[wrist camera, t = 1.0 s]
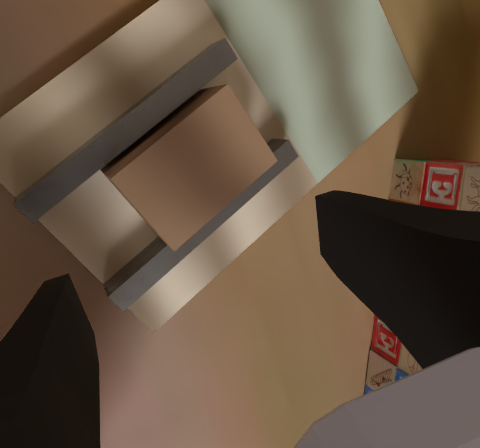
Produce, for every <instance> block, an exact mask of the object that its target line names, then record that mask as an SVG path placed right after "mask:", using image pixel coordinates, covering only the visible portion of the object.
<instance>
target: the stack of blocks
mask: <svg viewBox="0 0 480 448" xmlns="http://www.w3.org/2000/svg"><path fill="white" fill-rule="evenodd" d="M389 200H391V201H396V202H402V203H407V204H413V205H420V206H426V207H433V208H441V209H452V210H464V211H480V163H478V162H465V161H453V160H428V159H427V160H414V159H395V160H394V166H393V174H392V181H391V188H390V196H389ZM371 347H372V348H371V350H370V353H369V362H368V370H367V377H366V386H365V394H367V393H369V392H372V391H374V390H376V389H378V388H381V387H383V386H385V385H388V384H390V383H392V382H394V381H397V380H399V379H401V378H404V377H406V376H408V375H410V374H413V373H415V372H417V371H420V370H422V368H421V367H420V365H419V364H418V363H417V361H416V360H415V359H414V358H413V356H412V355H411V354H410V353H409V351H408V350H407V349H406V348H405V347H404V345H403V344H402V343H401V342H400V340H399V339H398V338H397V337H396V336H395V334H394V333H393V332H392V331H391V330H390V329H389V328H388V327H387V326H386V325H385V324H384V323H383V322H382V321H381V320H380V319H379V318H378V317H377V316H376V315H375V320H374V327H373V336H372V343H371ZM365 394H364V395H365Z"/></svg>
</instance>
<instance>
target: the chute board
mask: <svg viewBox="0 0 480 448" xmlns="http://www.w3.org/2000/svg"><path fill="white" fill-rule="evenodd" d="M223 38H226V40H227V42H228V43H229V45H230V46H231V48H232V50H233V51H234V53H235V54H236V56H237V58H238V59H237V60H236V61H235V62H233V63H232V64H231V65H230V66H228V67H227V68H226V69H225V70H223V71H222V72H221V73H220V74H218V75H217V76H216V77H215V78H213V79H212V80H211V81H210V82H208V83H207V84H206V85H205V86H203V87H202V88H201V89H205V88H210V87H214V86H219V85H224V84H228V85H229V86H230V88H231V89H232V91H233V93H234V94H235V96H236V97H237V99H238V100H239V102H240V103H241V105H242V106H243V108H244V109H245V111H246V113H247V114H248V116H249V117H250V119H251V120H252V122H253V123H254V125H255V126H256V128H257V129H258V131H259V132H260V134H261V136H262V137H263V139H264V140H265V142H266V143H267V142H268V141H270V140H271V139H286V140H289V141H290V143H291V145H292V146H293V148H294V149H295V151H296V153H297V154H298V156H299V157H298V158H297V159H295V160H294V161H293V162H292V163H291V164H290V165H289V166H288V167H286V168H285V169H284V170H283V171H282V172H281V173H280V174H279V175H277V176H276V177H275V178H274V179H273V180H272V181H271V182H269V183H268V184H267V185H266V186H265V187H264V188H263V189H262V190H260V191H259V192H258V193H257V194H256V195H255V196H254V197H253V198H251V199H250V200H249V201H248V202H247V203H246V204H245V205H244V206H242V207H241V208H240V209H239V210H238V211H237V212H236V213H235V214H233V215H232V216H231V217H230V218H229V219H228V220H227V221H225V222H224V223H223V224H222V225H221V226H220V227H219V228H218V229H216V230H215V231H214V232H213V233H212V234H211V235H210V236H209V237H207V238H206V239H205V240H204V241H203V242H202V243H201V244H200V245H198V246H197V247H196V248H195V249H194V250H193V251H192V252H191V253H189V254H188V255H187V256H186V257H185V258H184V259H183V260H181V261H180V262H179V263H178V264H177V265H176V266H175V267H174V268H172V269H171V270H170V271H169V272H168V273H167V274H166V275H165V276H163V277H162V278H161V279H160V280H159V281H158V282H157V283H156V284H154V285H153V286H152V287H151V288H150V289H149V290H148V291H147V292H145V293H144V294H143V295H142V296H141V297H140V298H139V299H137V300H136V301H135V302H134V303H133V304H132V305H131V306H130V307H128V309H129V310H130V311H131V312H132V313H133V314H134V315H135V316H136V317H137V318H138V319H139V320H140V321H141V322H142V323H143V324H144V325H145V326H146V327H147V328H148V329H149V330H150V331H151V332H152V333H154V332H155V331H156V330H157V329H159V328H160V327H161V326H162V325H163V324H164V323H165V322H166V321H167V320H168V319H169V318H171V317H172V316H173V315H174V314H175V313H176V312H177V311H178V310H179V309H180V308H182V307H183V306H184V305H185V304H186V303H187V302H188V301H189V300H190V299H191V298H193V297H194V296H195V295H196V294H197V293H198V292H199V291H200V290H201V289H202V288H203V287H205V286H206V285H207V284H208V283H209V282H210V281H211V280H212V279H213V278H214V277H216V276H217V275H218V274H219V273H220V272H221V271H222V270H223V269H224V268H225V267H227V266H228V265H229V264H230V263H231V262H232V261H233V260H234V259H235V258H236V257H237V256H239V255H240V254H241V253H242V252H243V251H244V250H245V249H246V248H247V247H248V246H250V245H251V244H252V243H253V242H254V241H255V240H256V239H257V238H258V237H259V236H261V235H262V234H263V233H264V232H265V231H266V230H267V229H268V228H269V227H270V226H271V225H273V224H274V223H275V222H276V221H277V220H278V219H279V218H280V217H281V216H282V215H284V214H285V213H286V212H287V211H288V210H289V209H290V208H291V207H292V206H293V205H295V204H296V203H297V202H298V201H299V200H300V199H301V198H302V197H303V196H304V195H305V194H307V193H308V192H309V191H310V190H311V189H312V188H313V187H314V186H315V185H316V184H318V183H319V182H320V181H321V180H322V179H323V178H324V177H325V176H326V175H327V174H329V173H330V172H331V171H332V170H333V169H334V168H335V167H336V166H337V165H338V164H339V163H341V162H342V161H343V160H344V159H345V158H346V157H347V156H348V155H349V154H350V153H352V152H353V151H354V150H355V149H356V148H357V147H358V146H359V145H360V144H361V143H363V142H364V141H365V140H366V139H367V138H368V137H369V136H370V135H371V134H372V133H373V132H375V131H376V130H377V129H378V128H379V127H380V126H381V125H382V124H383V123H384V122H386V121H387V120H388V119H389V118H390V117H391V116H392V115H393V114H394V113H395V112H397V111H398V110H399V109H400V108H401V107H402V106H403V105H404V104H405V103H406V102H407V101H409V100H410V99H411V98H412V97H413V96H414V95H415V94H416V93H417V92H418V91H419V90H418V88H417V86H416V84H415V81H414V79H413V77H412V75H411V72H410V70H409V68H408V66H407V63H406V61H405V59H404V57H403V54H402V52H401V50H400V47H399V45H398V43H397V41H396V38H395V36H394V34H393V32H392V29H391V27H390V25H389V23H388V20H387V18H386V16H385V14H384V11H383V9H382V7H381V4H380V2H379V0H159V1H158V2H156V3H155V4H154V5H152V6H151V7H150V8H148V9H147V10H146V11H144V12H143V13H142V14H140V15H139V16H138V17H136V18H135V19H133V20H132V21H131V22H129V23H128V24H127V25H125V26H124V27H123V28H121V29H120V30H119V31H117V32H116V33H114V34H113V35H112V36H110V37H109V38H108V39H106V40H105V41H104V42H102V43H101V44H100V45H98V46H97V47H95V48H94V49H93V50H91V51H90V52H89V53H87V54H86V55H85V56H83V57H82V58H81V59H79V60H78V61H77V62H75V63H74V64H72V65H71V66H70V67H68V68H67V69H66V70H64V71H63V72H62V73H60V74H59V75H58V76H56V77H55V78H53V79H52V80H51V81H49V82H48V83H47V84H45V85H44V86H43V87H41V88H40V89H39V90H37V91H36V92H34V93H33V94H32V95H30V96H29V97H28V98H26V99H25V100H24V101H22V102H21V103H20V104H18V105H17V106H16V107H14V108H13V109H11V110H10V111H9V112H7V113H6V114H5V115H3V116H2V117H1V118H0V183H1V184H2V185H3V186H4V187H5V188H6V189H7V190H8V191H9V192H10V193H11V194H12V195H13V196H14V197H16V196H18V195H19V194H20V193H22V192H23V191H24V190H25V189H27V188H28V187H29V186H31V185H32V184H33V183H34V182H36V181H37V180H38V179H39V178H41V177H42V176H43V175H45V174H46V173H47V172H48V171H50V170H51V169H52V168H54V167H55V166H56V165H57V164H59V163H60V162H61V161H62V160H64V159H65V158H66V157H68V156H69V155H70V154H71V153H73V152H74V151H75V150H77V149H78V148H79V147H80V146H82V145H83V144H84V143H85V142H87V141H88V140H89V139H91V138H92V137H93V136H94V135H96V134H97V133H98V132H100V131H101V130H102V129H103V128H105V127H106V126H107V125H108V124H110V123H111V122H112V121H114V120H115V119H116V118H117V117H119V116H120V115H121V114H123V113H124V112H125V111H126V110H128V109H129V108H130V107H131V106H133V105H134V104H135V103H137V102H138V101H139V100H140V99H142V98H143V97H144V96H146V95H147V94H148V93H149V92H151V91H152V90H153V89H154V88H156V87H157V86H158V85H160V84H161V83H162V82H163V81H165V80H166V79H167V78H169V77H170V76H171V75H172V74H174V73H175V72H176V71H177V70H179V69H180V68H181V67H183V66H184V65H185V64H186V63H188V62H189V61H190V60H192V59H193V58H194V57H195V56H197V55H198V54H199V53H201V52H202V51H203V50H204V49H206V48H207V47H208V46H209V45H211V44H212V43H215V42H217V41H219V40H221V39H223ZM198 91H199V90H198ZM198 91H197V92H198ZM193 95H194V94H193ZM193 95H192V96H193ZM188 99H189V98H188ZM188 99H187V100H188ZM183 103H184V102H183ZM183 103H182V104H183ZM178 107H179V106H178ZM178 107H177V108H178ZM172 112H173V111H172ZM172 112H171V113H172ZM167 116H168V115H167ZM167 116H166V117H167ZM162 120H163V119H162ZM162 120H161V121H162ZM157 124H158V123H157ZM157 124H156V125H157ZM152 128H153V127H152ZM152 128H151V129H152ZM147 132H148V131H147ZM147 132H146V133H147ZM142 136H143V135H142ZM142 136H141V137H142ZM137 140H138V139H137ZM137 140H136V141H137ZM132 144H133V143H132ZM132 144H131V145H132ZM127 148H128V147H127ZM127 148H126V149H127ZM122 152H123V151H122ZM122 152H121V153H122ZM117 156H118V155H117ZM117 156H116V157H117ZM112 160H113V159H112ZM112 160H111V161H112ZM107 164H108V163H107ZM107 164H106V165H107ZM102 168H103V167H102ZM102 168H101V169H102ZM38 221H39V222H40V223H41V224H42V225H44V226H45V227H46V228H47V229H48V230H49V231H50V232H51V233H52V234H53V235H54V236H55V237H56V238H57V239H58V240H59V241H60V242H61V243H62V244H63V245H64V246H65V247H66V248H67V249H68V250H69V251H70V252H71V253H72V254H73V255H74V256H75V257H76V258H77V259H78V260H79V261H80V262H81V263H82V264H83V265H84V266H85V267H86V268H87V269H88V270H89V271H90V272H91V273H92V274H93V275H94V276H95V277H96V278H97V279H98V280H99V281H100V282H101V283H102V284H104V283H105V282H106V281H107V280H109V279H110V278H111V277H112V276H113V275H114V274H115V273H117V272H118V271H119V270H120V269H121V268H122V267H124V266H125V265H126V264H127V263H128V262H129V261H131V260H132V259H133V258H134V257H135V256H136V255H137V254H139V253H140V252H141V251H142V250H143V249H144V248H146V247H147V246H148V245H149V244H150V243H151V242H153V241H154V240H155V239H156V238H157V237H158V235H157V234H156V233H155V232H154V231H153V230H152V229H151V227H150V226H149V225H148V224H147V223H146V222H145V221H144V219H143V218H142V217H141V216H140V215H139V214H138V213H137V211H136V210H135V209H134V208H133V207H132V206H131V205H130V203H129V202H128V201H127V200H126V199H125V198H124V197H123V195H122V194H121V193H120V192H119V191H118V190H117V189H116V188H115V186H114V185H113V184H112V183H111V182H110V181H109V180H108V178H107V177H106V176H105V175H104V174H103V173H102V172H101V170H99V171H97V172H96V173H95V174H94V175H92V176H91V177H90V178H89V179H87V180H86V181H85V182H84V183H83V184H81V185H80V186H79V187H78V188H76V189H75V190H74V191H73V192H71V193H70V194H69V195H68V196H66V197H65V198H64V199H63V200H61V201H60V202H59V203H58V204H56V205H55V206H54V207H53V208H51V209H50V210H49V211H48V212H46V213H45V214H44V215H43V216H41V217H40V218H39V219H38Z"/></svg>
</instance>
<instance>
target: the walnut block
mask: <svg viewBox="0 0 480 448" xmlns="http://www.w3.org/2000/svg"><path fill="white" fill-rule="evenodd" d="M277 161H278V160H277V159H276V157H275V156H274V154H273V152H272V151H271V149H270V148H269V146H268V145H267V143H266V142H265V140H264V139H263V137H262V136H261V134H260V132H259V131H258V129H257V128H256V126H255V125H254V123H253V122H252V120H251V119H250V117H249V116H248V114H247V113H246V111H245V109H244V108H243V106H242V105H241V103H240V102H239V100H238V99H237V97H236V96H235V94H234V93H233V91H232V89H231V88H230V86H229V85H228V84H224V85H219V86H214V87H210V88H205V89H200V90H199V91H198V92H196V93H195V94H194V95H193V96H191V97H190V98H189V99H188V100H186V101H185V102H184V103H183V104H181V105H180V106H179V107H178V108H176V109H175V110H174V111H173V112H172V113H170V114H169V115H168V116H167V117H165V118H164V119H163V120H162V121H160V122H159V123H158V124H157V125H155V126H154V127H153V128H152V129H150V130H149V131H148V132H147V133H145V134H144V135H143V136H142V137H140V138H139V139H138V140H137V141H135V142H134V143H133V144H132V145H130V146H129V147H128V148H127V149H125V150H124V151H123V152H122V153H120V154H119V155H118V156H117V157H115V158H114V159H113V160H112V161H110V162H109V163H108V164H107V165H105V166H104V167H103V168H102V169H100V170H101V172H102V173H103V174H104V175H105V176H106V177H107V178H108V180H109V181H110V182H111V183H112V184H113V185H114V186H115V188H116V189H117V190H118V191H119V192H120V193H121V194H122V195H123V197H124V198H125V199H126V200H127V201H128V202H129V203H130V205H131V206H132V207H133V208H134V209H135V210H136V211H137V213H138V214H139V215H140V216H141V217H142V218H143V219H144V221H145V222H146V223H147V224H148V225H149V226H150V227H151V229H152V230H153V231H154V232H155V233H156V234H157V235H158V236H159V237H160V238H161V239H162V240H163V241H164V242H165V243H166V244H167V245H168V246H169V247H170V248H171V249H172V250H173V251H176V250H177V249H178V248H179V247H180V246H181V245H182V244H184V243H185V242H186V241H187V240H188V239H189V238H190V237H192V236H193V235H194V234H195V233H196V232H197V231H198V230H199V229H201V228H202V227H203V226H204V225H205V224H206V223H207V222H209V221H210V220H211V219H212V218H213V217H214V216H215V215H217V214H218V213H219V212H220V211H221V210H222V209H223V208H225V207H226V206H227V205H228V204H229V203H230V202H231V201H233V200H234V199H235V198H236V197H237V196H238V195H239V194H240V193H242V192H243V191H244V190H245V189H246V188H247V187H248V186H250V185H251V184H252V183H253V182H254V181H255V180H256V179H258V178H259V177H260V176H261V175H262V174H263V173H264V172H266V171H267V170H268V169H269V168H270V167H271V166H272V165H273V164H275V163H276V162H277Z"/></svg>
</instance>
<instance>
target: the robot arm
mask: <svg viewBox="0 0 480 448" xmlns="http://www.w3.org/2000/svg"><path fill="white" fill-rule="evenodd" d="M315 199H316V210H317V220H318V231H319V242H320V252H321V255H322V257H323V258H324V259H325V261H326V262H327V264H328V265H329V266H330V268H331V269H332V270H333V272H334V273H335V274H336V276H337V277H338V278H339V279H340V280H341V281H342V282H343V283H344V284H345V285H346V286H347V287H348V288H349V289H350V290H351V291H352V292H353V293H354V294H355V295H356V296H357V297H358V298H359V299H360V300H361V301H362V302H363V303H364V304H365V305H366V306H367V307H368V308H369V309H370V310H371V311H372V312H373V313H374V314H375V315H376V316H377V317H378V318H379V319H380V320H381V321H382V322H383V323H384V324H385V325H386V326H387V327H388V328H389V329H390V330H391V331H392V332H393V333H394V334H395V336H396V337H397V338H398V339H399V340H400V342H401V343H402V344H403V345H404V347H405V348H406V349H407V350H408V351H409V353H410V354H411V355H412V356H413V358H414V359H415V360H416V361H417V363H418V364H419V365H420V367H421V368H422V370H420V371H417V372H415V373H413V374H410V375H408V376H406V377H404V378H401V379H399V380H397V381H394V382H392V383H390V384H388V385H385V386H383V387H381V388H378V389H376V390H374V391H372V392H369V393H367V394H365V395H362V396H360V397H358V398H355V399H353V400H351V401H349V402H346V403H344V404H342V405H340V406H338V407H337V408H335V409H334V410H332V411H331V412H329V413H328V414H326V415H325V416H323V417H322V418H320V419H318V420H317V421H315V422H314V423H313V424H312V425H311V426H310V427H309V429H308V430H307V431H306V433H305V434H304V435H303V437H302V438H301V439H300V440H299V442H298V443H297V444H296V446H295V447H294V448H480V211H464V210H452V209H441V208H433V207H426V206H420V205H413V204H407V203H402V202H396V201H391V200H386V199H381V198H376V197H372V196H367V195H362V194H357V193H351V192H345V191H335V190H333V191H330V192H327V193H324V194H320V195H317V196H315ZM0 448H100V396H99V362H98V355H97V348H96V342H95V336H94V332H93V329H92V327H91V325H90V322H89V320H88V318H87V315H86V313H85V311H84V309H83V306H82V304H81V302H80V299H79V297H78V295H77V292H76V290H75V288H74V285H73V283H72V281H71V278H70V276H69V274H66V275H63V276H60V277H57V278H53V279H50V280H47V281H45V282H44V283H43V284H42V285H41V287H40V288H39V289H38V291H37V292H36V294H35V295H34V297H33V298H32V300H31V301H30V302H29V304H28V305H27V307H26V308H25V310H24V311H23V312H22V314H21V315H20V317H19V318H18V320H17V321H16V322H15V324H14V325H13V327H12V328H11V329H10V330H9V332H8V333H7V334H6V335H5V337H4V338H3V339H2V340H1V342H0Z"/></svg>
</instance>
